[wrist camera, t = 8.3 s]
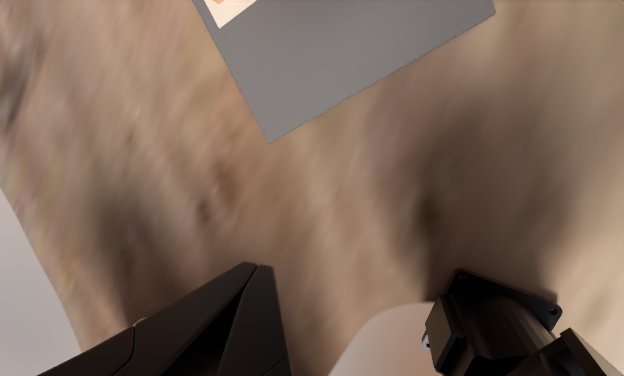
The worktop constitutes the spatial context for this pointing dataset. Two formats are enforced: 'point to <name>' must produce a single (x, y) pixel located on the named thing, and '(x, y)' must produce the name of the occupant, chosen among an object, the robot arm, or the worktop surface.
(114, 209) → the worktop surface
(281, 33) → the mat
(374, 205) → the worktop surface
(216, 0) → the t block
